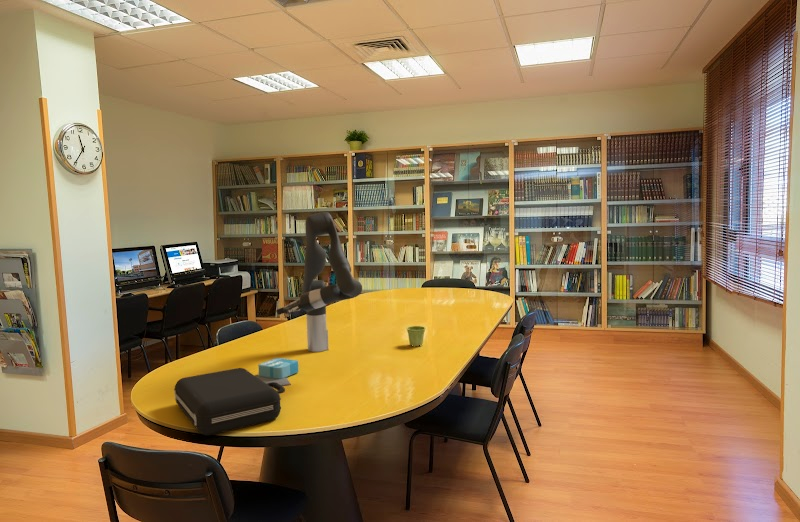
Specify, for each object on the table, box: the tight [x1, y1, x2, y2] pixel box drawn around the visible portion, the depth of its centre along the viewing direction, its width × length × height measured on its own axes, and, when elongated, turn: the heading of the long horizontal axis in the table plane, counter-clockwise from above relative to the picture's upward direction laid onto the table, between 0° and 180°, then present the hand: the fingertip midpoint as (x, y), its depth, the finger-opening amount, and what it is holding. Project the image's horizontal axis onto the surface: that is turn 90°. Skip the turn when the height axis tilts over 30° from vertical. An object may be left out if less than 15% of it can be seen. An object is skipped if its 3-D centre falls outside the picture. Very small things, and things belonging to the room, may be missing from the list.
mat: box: [253, 374, 291, 387], centre depth 205 cm, size 14×18×1 cm
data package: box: [257, 357, 299, 379], centre depth 213 cm, size 12×4×12 cm
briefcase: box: [173, 367, 286, 437], centre depth 174 cm, size 36×32×10 cm
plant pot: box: [406, 325, 426, 347], centre depth 256 cm, size 9×9×9 cm
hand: (277, 312), depth 218 cm, fingers closed
